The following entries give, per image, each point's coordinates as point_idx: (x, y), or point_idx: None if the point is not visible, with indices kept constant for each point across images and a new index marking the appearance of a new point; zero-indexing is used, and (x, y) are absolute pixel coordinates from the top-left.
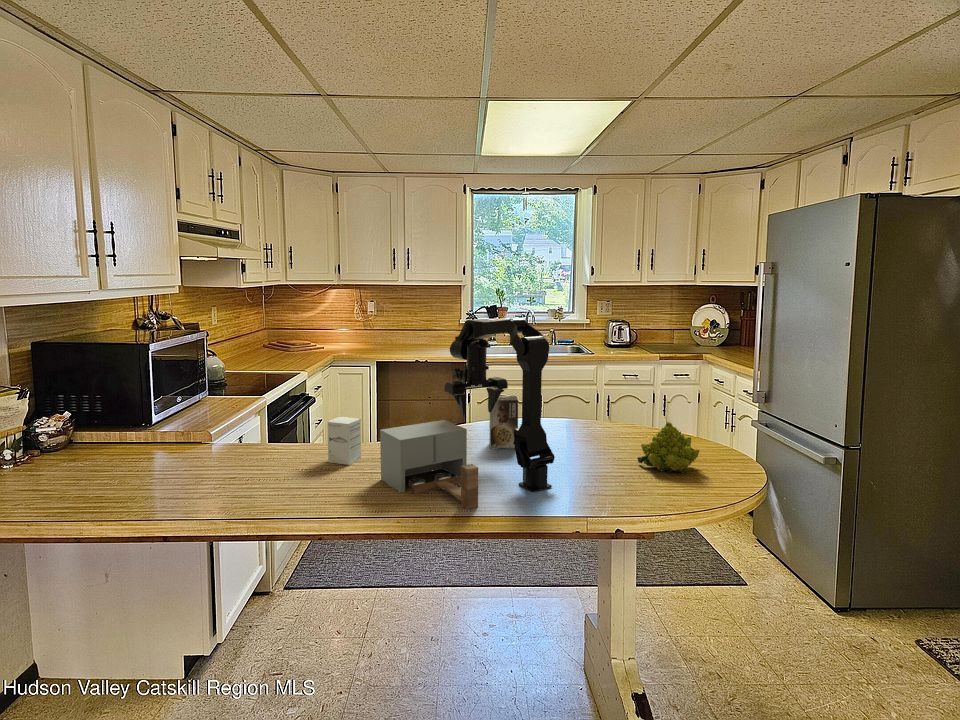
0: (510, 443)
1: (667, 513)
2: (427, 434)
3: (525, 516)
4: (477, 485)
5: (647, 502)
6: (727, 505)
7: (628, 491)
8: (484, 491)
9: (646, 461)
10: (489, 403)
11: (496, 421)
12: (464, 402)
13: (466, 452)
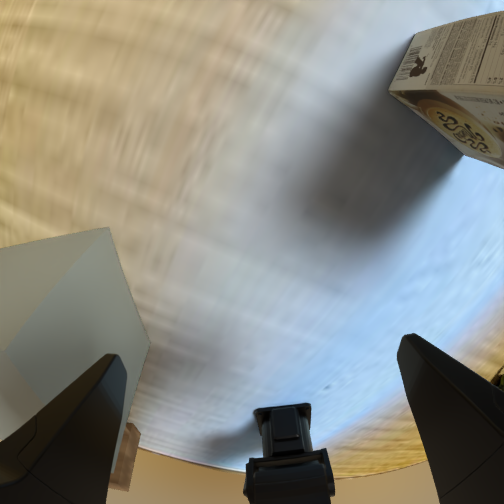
0: (459, 143)
1: (360, 475)
2: (1, 436)
3: (199, 464)
4: (132, 464)
5: (373, 461)
6: (422, 462)
7: (392, 442)
8: (170, 405)
9: (501, 384)
10: (438, 402)
11: (487, 117)
12: (92, 502)
13: (131, 404)
